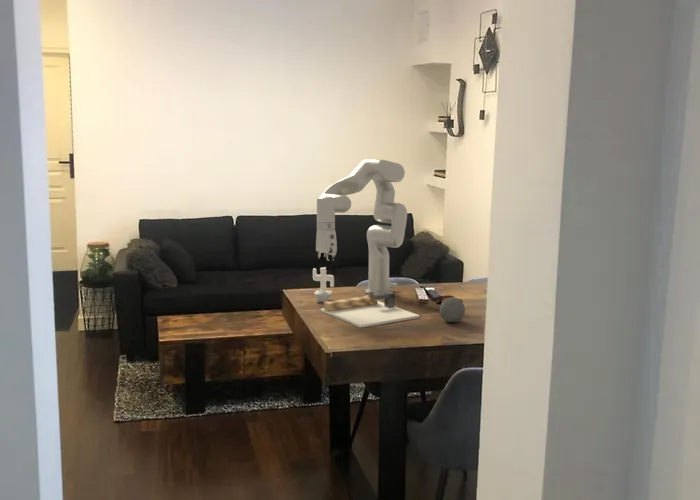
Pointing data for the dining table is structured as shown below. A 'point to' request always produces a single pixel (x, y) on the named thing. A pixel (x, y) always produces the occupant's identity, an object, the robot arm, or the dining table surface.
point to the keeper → (386, 298)
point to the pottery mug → (442, 298)
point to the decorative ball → (452, 309)
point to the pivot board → (371, 315)
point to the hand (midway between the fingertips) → (325, 268)
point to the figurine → (323, 284)
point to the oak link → (351, 302)
